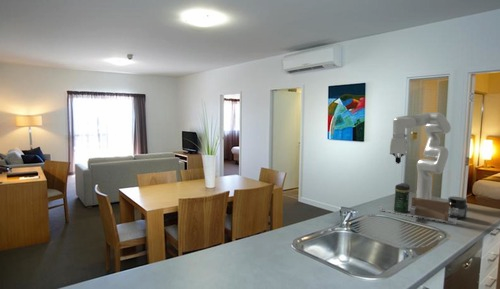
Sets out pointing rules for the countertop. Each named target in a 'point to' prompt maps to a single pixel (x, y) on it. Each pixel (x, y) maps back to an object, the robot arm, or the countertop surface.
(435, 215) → the walnut screen
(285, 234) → the countertop surface
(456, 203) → the supplement container
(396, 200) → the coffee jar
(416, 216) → the grey rail
